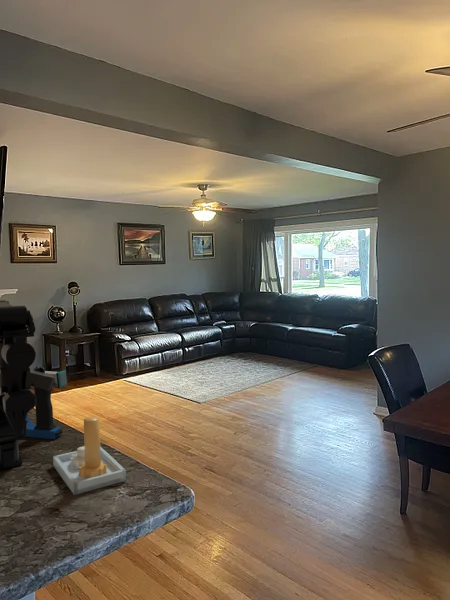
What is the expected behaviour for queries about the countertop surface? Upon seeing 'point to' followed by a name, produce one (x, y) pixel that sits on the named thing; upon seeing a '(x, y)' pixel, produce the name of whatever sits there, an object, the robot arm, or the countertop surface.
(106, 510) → the countertop surface
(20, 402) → the robot arm
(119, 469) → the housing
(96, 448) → the tan gear peg
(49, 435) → the handheld scanner
